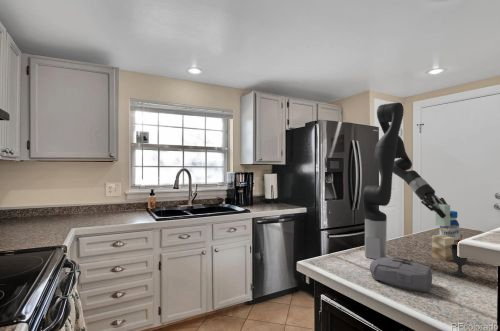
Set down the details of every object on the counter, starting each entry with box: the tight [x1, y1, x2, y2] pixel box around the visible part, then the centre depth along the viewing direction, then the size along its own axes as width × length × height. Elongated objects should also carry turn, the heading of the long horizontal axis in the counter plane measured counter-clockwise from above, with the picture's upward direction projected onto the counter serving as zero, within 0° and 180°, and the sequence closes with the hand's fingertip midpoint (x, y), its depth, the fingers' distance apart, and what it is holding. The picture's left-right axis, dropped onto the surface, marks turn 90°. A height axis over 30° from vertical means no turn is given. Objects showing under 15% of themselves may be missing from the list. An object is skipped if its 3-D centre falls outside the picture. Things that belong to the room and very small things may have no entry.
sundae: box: [450, 234, 469, 278], centre depth 104 cm, size 7×7×15 cm
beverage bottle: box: [438, 210, 461, 242], centre depth 136 cm, size 8×8×20 cm
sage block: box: [435, 204, 451, 227], centre depth 123 cm, size 4×4×10 cm
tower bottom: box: [431, 246, 454, 262], centre depth 123 cm, size 6×6×5 cm
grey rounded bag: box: [368, 256, 433, 293], centre depth 96 cm, size 15×8×20 cm
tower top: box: [431, 234, 454, 250], centre depth 123 cm, size 6×6×5 cm
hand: (447, 216), depth 122 cm, fingers closed on sage block, 4 cm apart
